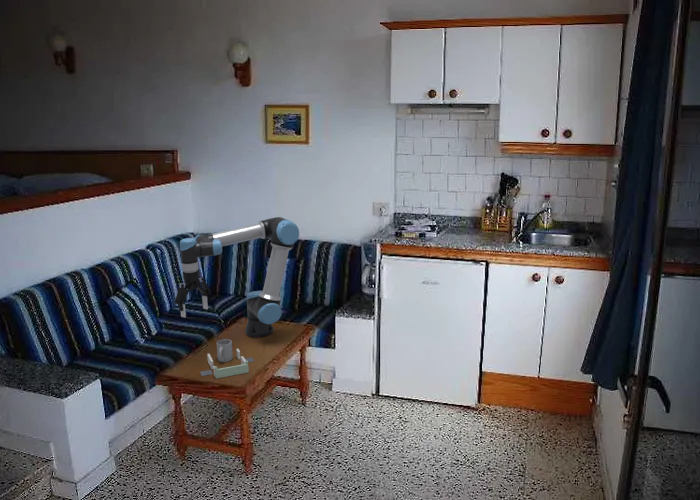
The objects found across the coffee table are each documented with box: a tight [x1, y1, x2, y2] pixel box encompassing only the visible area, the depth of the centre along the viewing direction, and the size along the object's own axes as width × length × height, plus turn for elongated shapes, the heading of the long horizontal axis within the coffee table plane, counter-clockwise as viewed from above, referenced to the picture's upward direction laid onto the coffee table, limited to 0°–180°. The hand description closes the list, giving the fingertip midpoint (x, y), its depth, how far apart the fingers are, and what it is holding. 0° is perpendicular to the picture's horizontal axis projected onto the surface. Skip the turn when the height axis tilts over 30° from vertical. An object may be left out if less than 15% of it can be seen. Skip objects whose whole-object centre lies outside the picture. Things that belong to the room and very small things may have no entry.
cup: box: [216, 338, 234, 363], centre depth 283 cm, size 7×10×9 cm
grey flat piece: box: [199, 348, 255, 379], centre depth 276 cm, size 26×20×5 cm
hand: (194, 312), depth 287 cm, fingers open, 13 cm apart
